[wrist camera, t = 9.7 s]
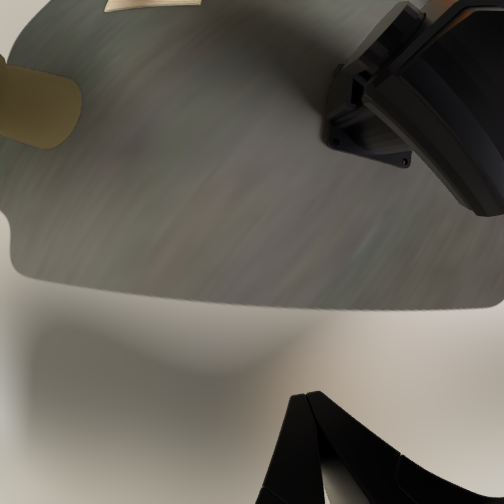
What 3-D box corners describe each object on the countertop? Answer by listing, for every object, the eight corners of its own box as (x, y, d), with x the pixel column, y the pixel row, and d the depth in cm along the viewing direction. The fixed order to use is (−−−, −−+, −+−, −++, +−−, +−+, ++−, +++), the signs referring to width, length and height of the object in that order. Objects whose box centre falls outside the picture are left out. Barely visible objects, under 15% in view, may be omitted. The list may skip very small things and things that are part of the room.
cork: (19, 147, 17) (-80, 145, 6) (38, 78, 15) (-51, 45, 5) (70, 153, 17) (-42, 145, 7) (92, 76, 16) (0, 22, 5)
